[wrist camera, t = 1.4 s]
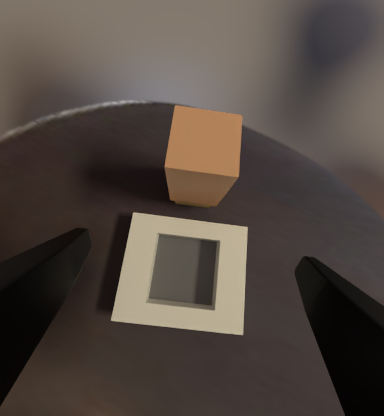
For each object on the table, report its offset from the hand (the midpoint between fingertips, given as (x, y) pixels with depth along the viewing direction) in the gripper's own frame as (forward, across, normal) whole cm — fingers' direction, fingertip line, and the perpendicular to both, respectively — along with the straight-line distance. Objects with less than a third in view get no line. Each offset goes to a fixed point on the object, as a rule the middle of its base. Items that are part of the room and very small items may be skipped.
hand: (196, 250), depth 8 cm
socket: (+8, 0, +10) cm, 13 cm away
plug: (+14, 0, +4) cm, 15 cm away
